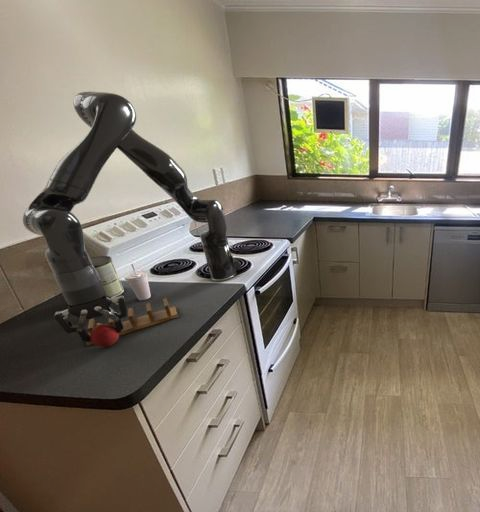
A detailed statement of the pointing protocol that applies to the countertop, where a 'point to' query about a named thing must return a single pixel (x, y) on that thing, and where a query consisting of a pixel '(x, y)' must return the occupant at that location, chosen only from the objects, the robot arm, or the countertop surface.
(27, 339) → the countertop surface
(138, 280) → the smoothie
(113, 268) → the coffee can
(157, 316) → the dish rack
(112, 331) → the red round piece
